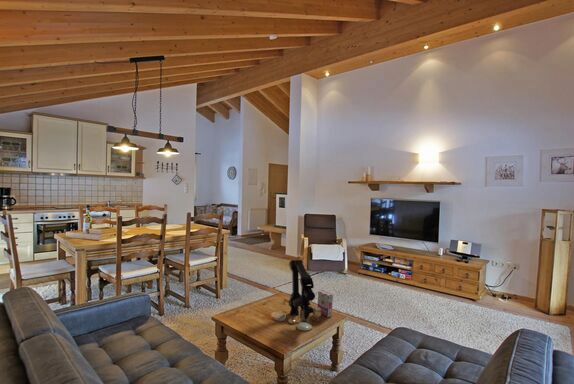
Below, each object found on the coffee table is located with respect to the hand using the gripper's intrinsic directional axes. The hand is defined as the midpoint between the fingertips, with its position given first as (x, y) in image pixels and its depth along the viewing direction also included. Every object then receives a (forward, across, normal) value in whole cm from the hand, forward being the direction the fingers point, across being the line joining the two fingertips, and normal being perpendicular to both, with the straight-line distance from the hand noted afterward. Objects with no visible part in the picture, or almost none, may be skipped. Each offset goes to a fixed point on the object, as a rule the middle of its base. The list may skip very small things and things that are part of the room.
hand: (304, 317), depth 202 cm
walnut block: (+1, 0, 0) cm, 1 cm away
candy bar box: (+7, -17, +21) cm, 28 cm away
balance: (+7, -8, +3) cm, 11 cm away
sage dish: (+7, 0, 0) cm, 7 cm away
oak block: (+2, -8, +12) cm, 15 cm away
